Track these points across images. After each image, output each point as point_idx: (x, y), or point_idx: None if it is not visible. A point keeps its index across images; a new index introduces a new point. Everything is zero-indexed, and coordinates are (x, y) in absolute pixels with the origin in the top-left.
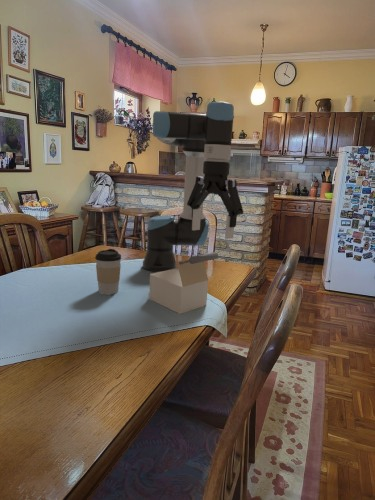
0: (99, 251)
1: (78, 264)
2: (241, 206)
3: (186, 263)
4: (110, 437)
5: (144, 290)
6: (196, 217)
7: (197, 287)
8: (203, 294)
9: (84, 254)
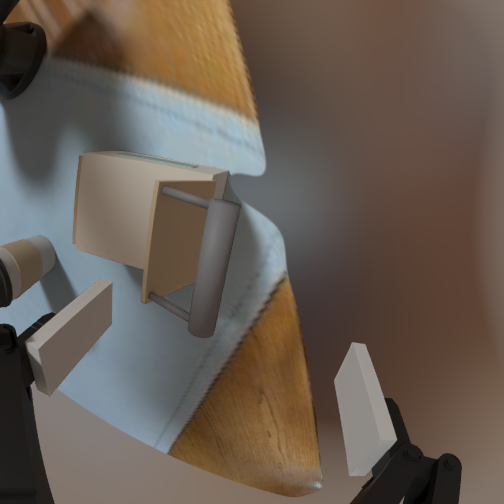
0: None
1: None
2: (456, 496)
3: (156, 269)
4: (318, 469)
5: (72, 198)
6: (74, 349)
7: None
8: (219, 187)
9: None
